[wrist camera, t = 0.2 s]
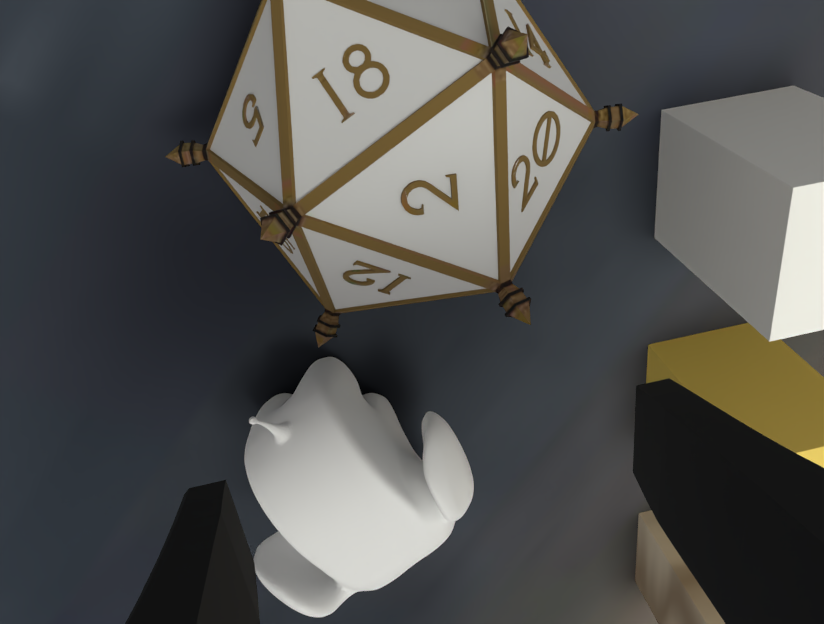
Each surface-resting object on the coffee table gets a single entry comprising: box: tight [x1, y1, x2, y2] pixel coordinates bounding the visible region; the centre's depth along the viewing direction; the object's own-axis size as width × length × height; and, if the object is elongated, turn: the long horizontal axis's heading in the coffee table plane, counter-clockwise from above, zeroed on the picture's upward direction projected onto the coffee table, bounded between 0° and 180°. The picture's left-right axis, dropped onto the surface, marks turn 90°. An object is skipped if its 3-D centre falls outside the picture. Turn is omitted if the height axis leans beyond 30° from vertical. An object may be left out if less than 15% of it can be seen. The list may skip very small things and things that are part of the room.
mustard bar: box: [646, 323, 824, 468], centre depth 25 cm, size 4×4×6 cm
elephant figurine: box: [244, 357, 474, 617], centre depth 22 cm, size 7×8×6 cm
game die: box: [165, 0, 638, 347], centre depth 16 cm, size 9×8×10 cm
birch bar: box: [635, 510, 725, 624], centre depth 29 cm, size 4×4×6 cm
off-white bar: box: [654, 86, 824, 342], centre depth 20 cm, size 4×4×6 cm
